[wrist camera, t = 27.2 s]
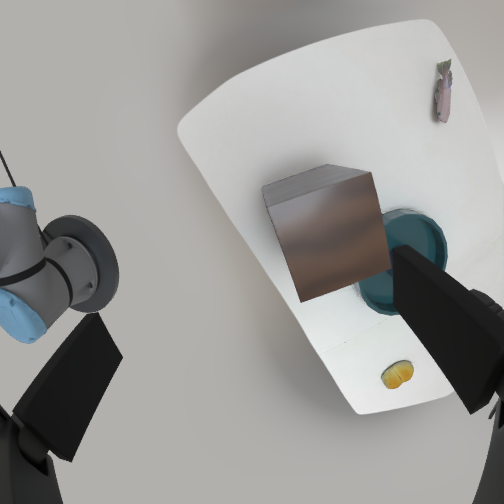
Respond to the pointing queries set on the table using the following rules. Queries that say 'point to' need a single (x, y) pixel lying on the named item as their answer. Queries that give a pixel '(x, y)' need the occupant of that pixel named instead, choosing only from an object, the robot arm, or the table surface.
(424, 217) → the round teal tray
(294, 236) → the brown wooden block
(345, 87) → the table surface
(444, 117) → the fish
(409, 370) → the bread roll
